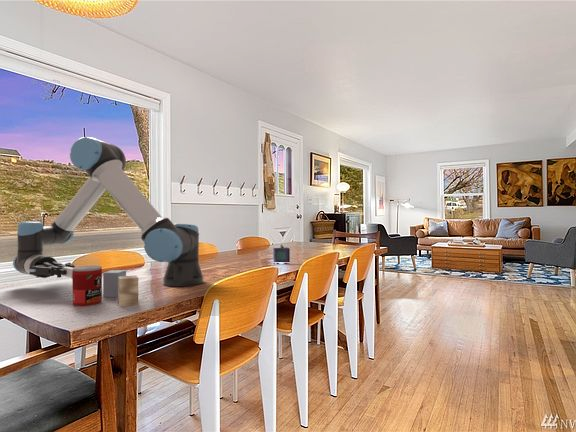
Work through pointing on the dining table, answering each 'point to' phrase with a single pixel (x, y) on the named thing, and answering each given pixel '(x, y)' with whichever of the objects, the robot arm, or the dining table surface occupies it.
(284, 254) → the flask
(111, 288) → the slate-blue painted block
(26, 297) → the dining table surface
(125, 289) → the beech block
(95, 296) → the canned food
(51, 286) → the dining table surface
